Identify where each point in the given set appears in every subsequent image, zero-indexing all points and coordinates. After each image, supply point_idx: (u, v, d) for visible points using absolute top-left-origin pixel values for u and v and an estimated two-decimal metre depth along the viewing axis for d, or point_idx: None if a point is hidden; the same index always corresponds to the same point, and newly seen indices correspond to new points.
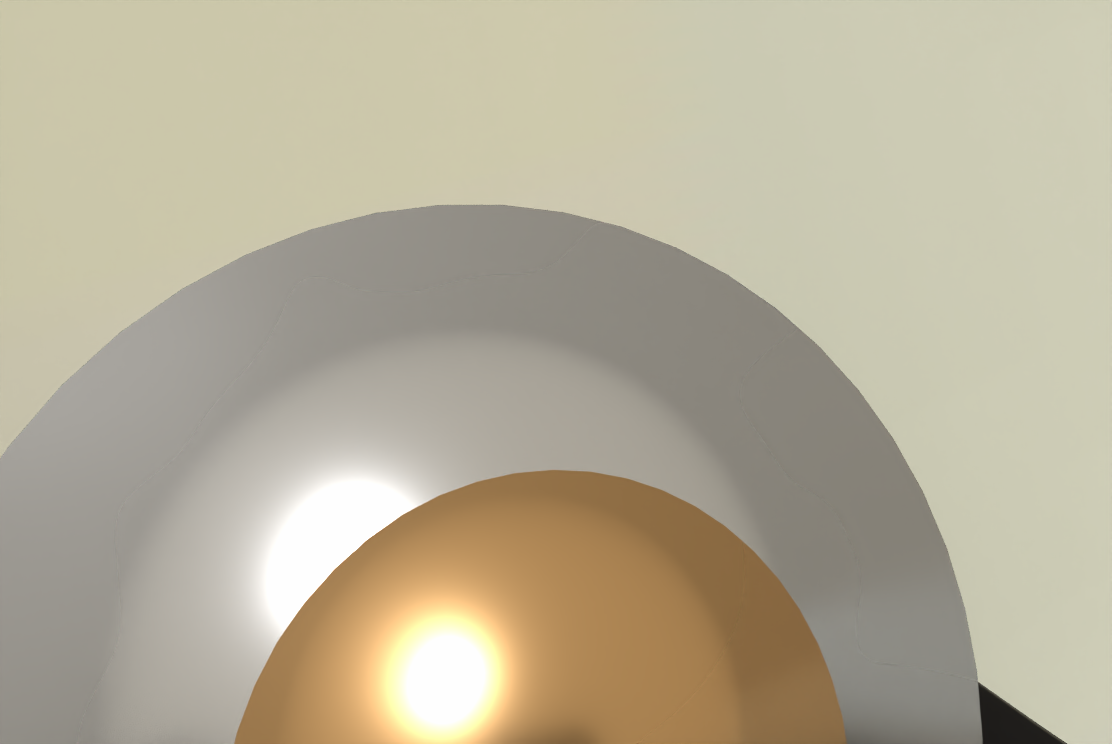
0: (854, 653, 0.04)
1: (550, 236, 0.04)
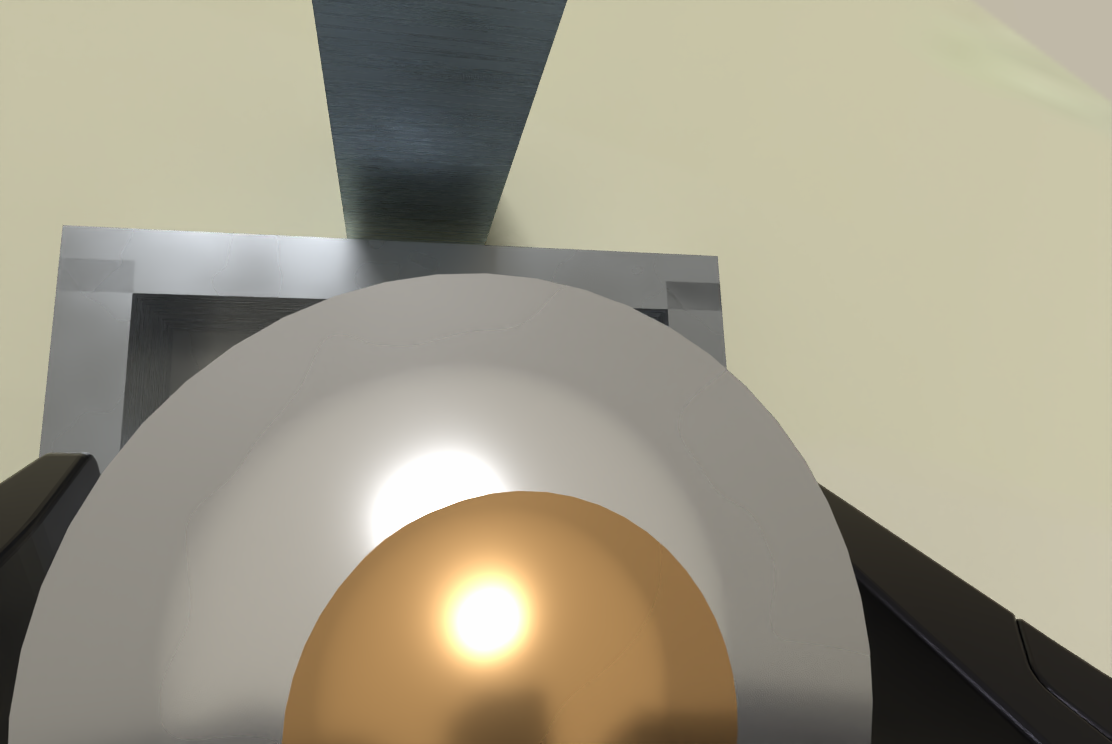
0: (768, 633, 0.05)
1: (525, 298, 0.05)
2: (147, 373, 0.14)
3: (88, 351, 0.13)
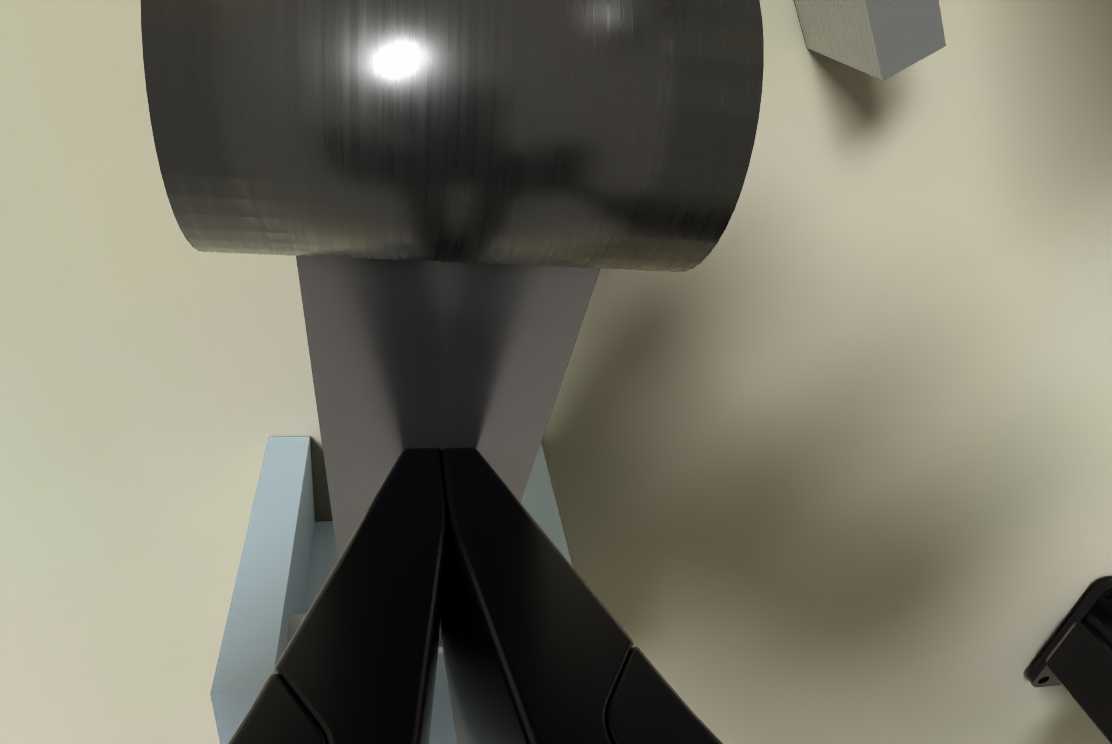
0: None
1: None
2: None
3: None
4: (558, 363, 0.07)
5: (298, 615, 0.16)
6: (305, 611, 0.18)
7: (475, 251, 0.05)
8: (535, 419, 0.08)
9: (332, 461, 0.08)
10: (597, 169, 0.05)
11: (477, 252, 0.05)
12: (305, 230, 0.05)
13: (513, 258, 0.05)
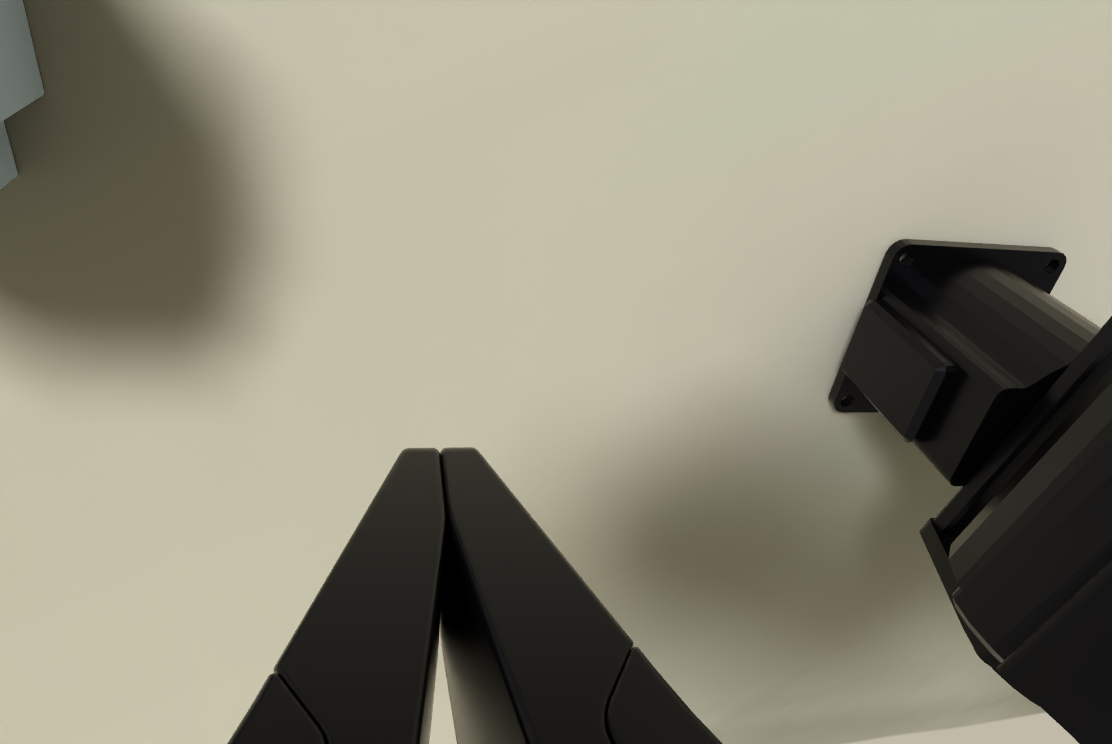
0: None
1: None
2: None
3: None
4: None
5: None
6: None
7: None
8: None
9: None
10: None
11: None
12: None
13: None
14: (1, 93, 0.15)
